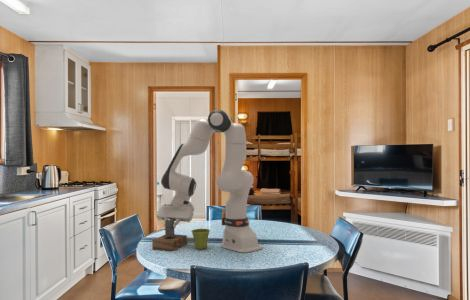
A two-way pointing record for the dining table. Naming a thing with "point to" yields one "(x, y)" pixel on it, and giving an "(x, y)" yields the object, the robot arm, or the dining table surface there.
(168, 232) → the servo
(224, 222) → the ammunition clip
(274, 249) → the dining table surface
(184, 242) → the brown wooden box
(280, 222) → the dining table surface
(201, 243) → the plant pot
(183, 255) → the dining table surface
